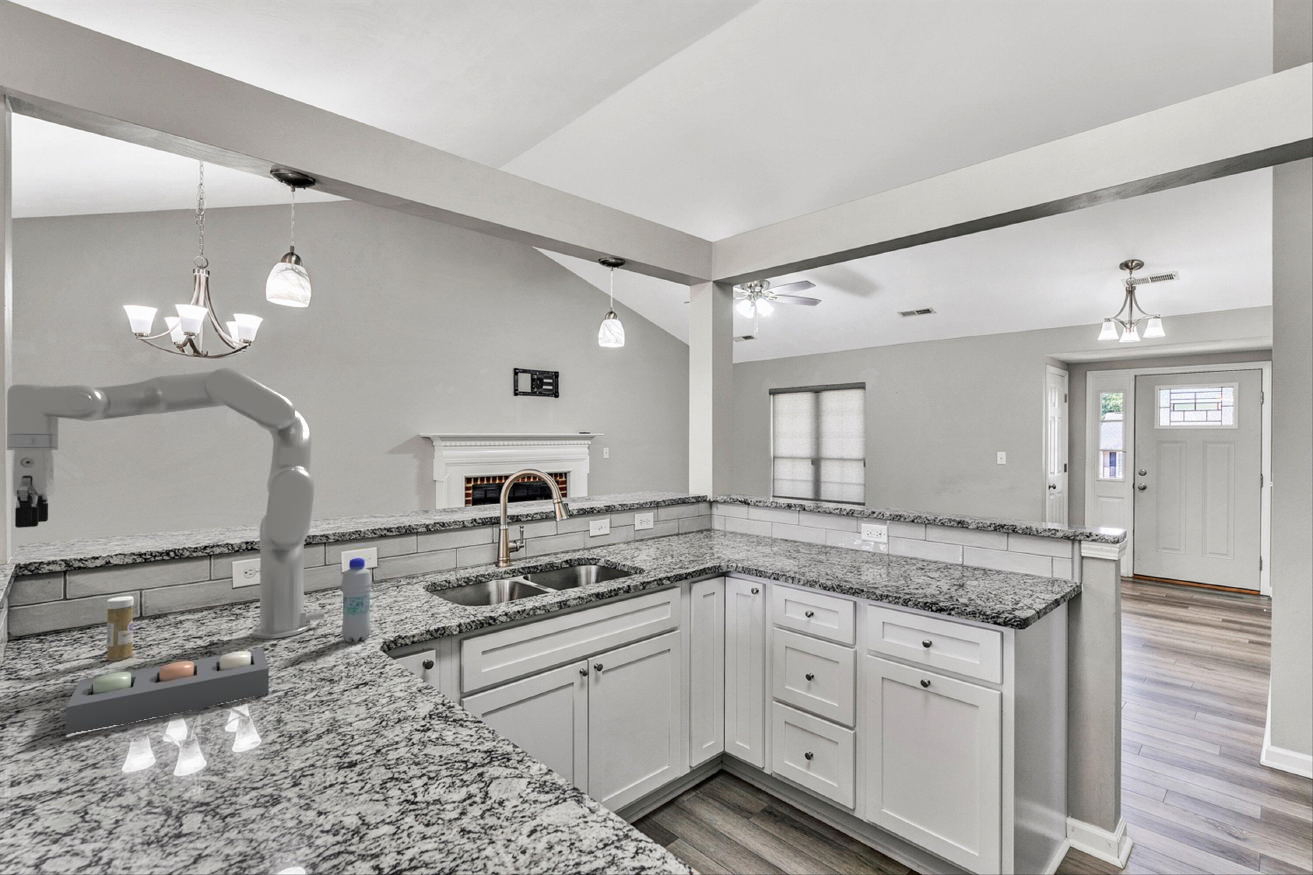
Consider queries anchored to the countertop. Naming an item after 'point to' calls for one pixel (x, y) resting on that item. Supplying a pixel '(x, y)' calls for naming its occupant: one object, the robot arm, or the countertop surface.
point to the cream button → (235, 660)
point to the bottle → (356, 601)
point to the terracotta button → (176, 670)
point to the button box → (166, 693)
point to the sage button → (112, 682)
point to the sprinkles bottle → (120, 628)
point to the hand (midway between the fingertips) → (32, 524)
